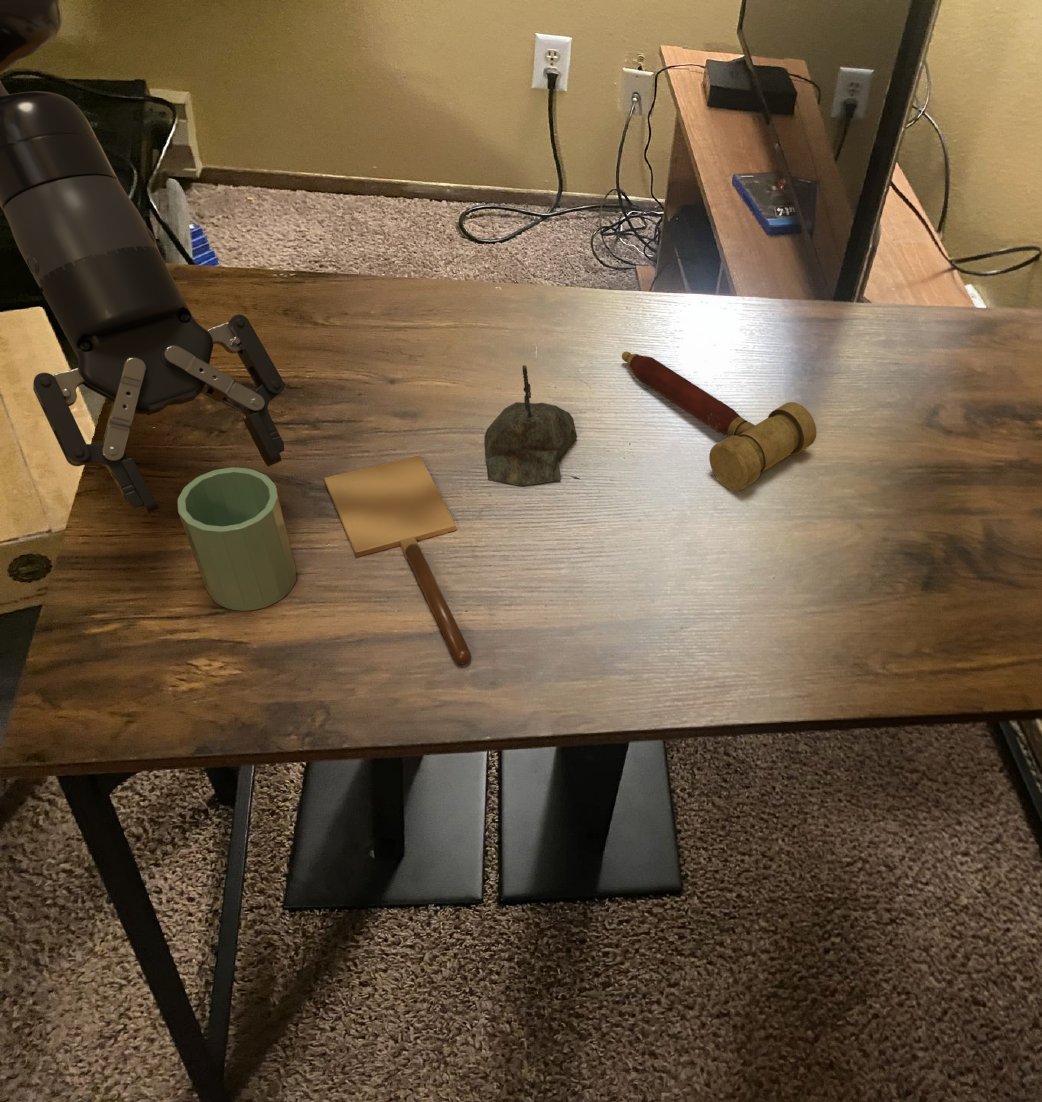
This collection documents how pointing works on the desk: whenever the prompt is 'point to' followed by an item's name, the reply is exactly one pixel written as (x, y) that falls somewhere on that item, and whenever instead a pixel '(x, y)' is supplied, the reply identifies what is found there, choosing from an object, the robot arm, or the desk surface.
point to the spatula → (398, 525)
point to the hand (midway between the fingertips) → (215, 486)
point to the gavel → (731, 425)
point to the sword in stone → (528, 441)
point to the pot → (238, 537)
